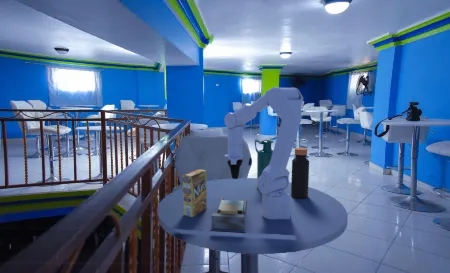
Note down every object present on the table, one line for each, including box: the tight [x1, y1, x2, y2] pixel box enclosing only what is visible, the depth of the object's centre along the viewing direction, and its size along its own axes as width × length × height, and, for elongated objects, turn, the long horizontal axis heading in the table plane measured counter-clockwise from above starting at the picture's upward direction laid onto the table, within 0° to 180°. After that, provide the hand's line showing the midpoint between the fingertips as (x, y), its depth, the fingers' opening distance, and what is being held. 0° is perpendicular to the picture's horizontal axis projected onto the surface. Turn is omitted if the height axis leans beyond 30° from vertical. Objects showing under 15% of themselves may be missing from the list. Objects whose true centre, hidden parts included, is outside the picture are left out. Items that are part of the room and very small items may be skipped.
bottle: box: [290, 147, 310, 200], centre depth 118 cm, size 7×7×20 cm
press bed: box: [209, 196, 248, 234], centre depth 99 cm, size 11×24×5 cm, turn 173°
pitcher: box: [254, 138, 274, 191], centre depth 128 cm, size 10×8×22 cm
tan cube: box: [221, 204, 238, 214], centre depth 92 cm, size 5×5×5 cm
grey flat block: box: [217, 199, 245, 215], centre depth 99 cm, size 8×9×3 cm
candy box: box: [182, 168, 208, 218], centre depth 100 cm, size 9×4×15 cm, turn 150°
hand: (235, 178), depth 112 cm, fingers closed
